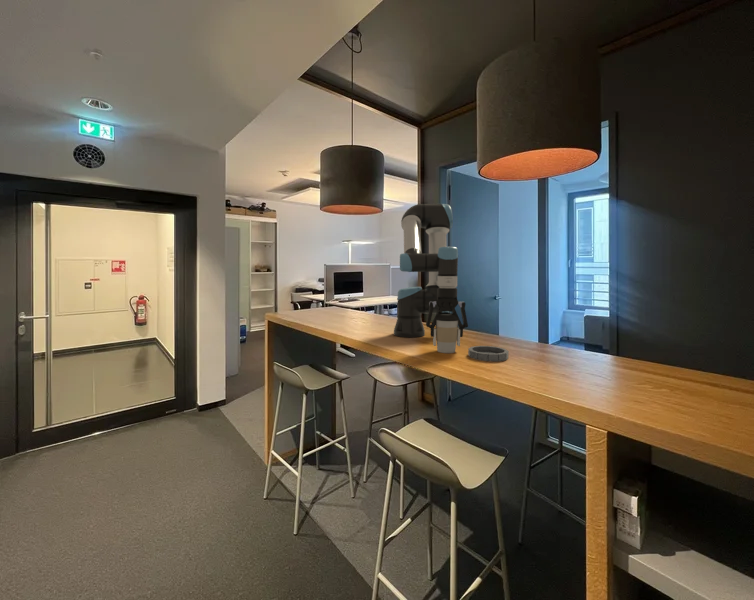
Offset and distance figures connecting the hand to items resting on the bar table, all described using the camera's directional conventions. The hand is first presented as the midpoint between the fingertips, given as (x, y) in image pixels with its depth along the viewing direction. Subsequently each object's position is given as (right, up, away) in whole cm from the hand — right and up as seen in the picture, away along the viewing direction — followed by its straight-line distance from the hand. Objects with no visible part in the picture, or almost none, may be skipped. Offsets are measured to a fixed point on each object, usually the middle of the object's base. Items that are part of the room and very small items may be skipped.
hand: (446, 345), depth 136 cm
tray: (+14, -3, -8) cm, 16 cm away
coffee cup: (0, -3, 0) cm, 3 cm away
